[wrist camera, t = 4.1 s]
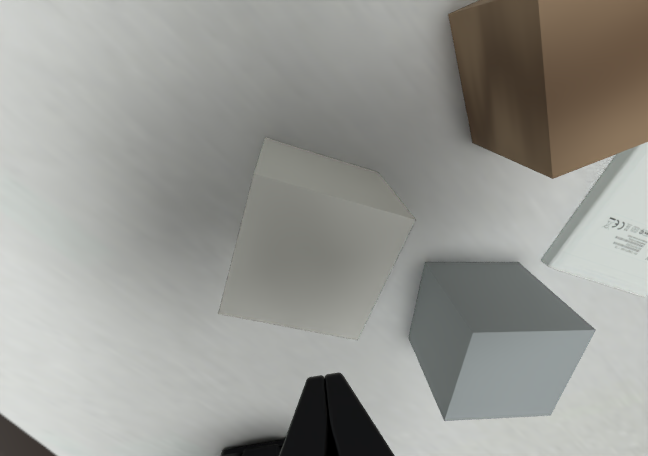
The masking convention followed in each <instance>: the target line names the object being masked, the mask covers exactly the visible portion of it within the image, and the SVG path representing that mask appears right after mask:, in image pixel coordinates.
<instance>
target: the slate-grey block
mask: <svg viewBox="0 0 648 456" xmlns="http://www.w3.org/2000/svg"><path fill="white" fill-rule="evenodd" d="M594 332H595V329H594V328H593V327H592V326H591V325H589V324H588V323H587V322H586V321H585V320H584V319H583V318H581V317H580V316H579V315H578V314H577V313H576V312H575V311H573V310H572V309H571V308H570V307H569V306H568V305H567V304H566V303H564V302H563V301H562V300H561V299H560V298H559V297H558V296H556V295H555V294H554V293H553V292H552V291H551V290H550V289H548V288H547V287H546V286H545V285H544V284H543V283H542V282H540V281H539V280H538V279H537V278H536V277H535V276H534V275H532V274H531V273H530V272H529V271H528V270H527V269H526V268H524V267H523V266H522V265H521V264H520V263H519V262H425V265H424V270H423V275H422V279H421V284H420V288H419V293H418V297H417V302H416V306H415V311H414V315H413V320H412V325H411V329H410V334H409V340H410V343H411V345H412V347H413V350H414V352H415V354H416V356H417V359H418V361H419V363H420V366H421V368H422V370H423V373H424V375H425V377H426V380H427V382H428V384H429V387H430V389H431V391H432V394H433V396H434V398H435V400H436V403H437V405H438V407H439V410H440V412H441V414H442V417H443V419H444V421H452V420H472V419H491V418H510V417H530V416H549V415H551V414H552V412H553V410H554V408H555V406H556V404H557V402H558V400H559V399H560V397H561V395H562V393H563V391H564V389H565V387H566V385H567V383H568V382H569V380H570V378H571V376H572V374H573V372H574V370H575V368H576V366H577V364H578V363H579V361H580V359H581V357H582V355H583V353H584V351H585V349H586V347H587V346H588V344H589V342H590V340H591V338H592V336H593V334H594Z"/></svg>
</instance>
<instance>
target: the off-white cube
mask: <svg viewBox="0 0 648 456" xmlns="http://www.w3.org/2000/svg"><path fill="white" fill-rule="evenodd" d="M415 221H416V219H415V218H414V217H413V215H412V214H411V213H410V212H409V210H408V209H407V208H406V207H405V205H404V204H403V203H402V202H401V200H400V199H399V198H398V197H397V195H396V194H395V193H394V191H393V190H392V189H391V188H390V186H389V185H388V184H387V183H386V181H385V180H384V179H383V178H382V176H381V175H380V174H379V173H378V172H376V171H372V170H369V169H366V168H363V167H359V166H356V165H353V164H350V163H347V162H343V161H340V160H337V159H334V158H330V157H327V156H324V155H321V154H317V153H314V152H311V151H308V150H305V149H301V148H298V147H295V146H292V145H288V144H285V143H282V142H279V141H275V140H272V139H269V138H266V137H265V139H264V143H263V146H262V149H261V152H260V155H259V158H258V161H257V165H256V168H255V171H254V174H253V178H252V182H251V186H250V190H249V194H248V198H247V202H246V206H245V210H244V214H243V217H242V221H241V225H240V229H239V233H238V237H237V241H236V245H235V249H234V253H233V257H232V261H231V265H230V269H229V273H228V277H227V281H226V285H225V289H224V293H223V297H222V301H221V305H220V308H219V312H218V314H222V315H227V316H232V317H237V318H243V319H248V320H253V321H259V322H264V323H269V324H274V325H280V326H285V327H290V328H295V329H301V330H306V331H311V332H316V333H322V334H327V335H332V336H338V337H343V338H348V339H353V340H358V339H359V337H360V335H361V333H362V331H363V329H364V327H365V324H366V322H367V320H368V318H369V316H370V314H371V312H372V310H373V308H374V306H375V304H376V302H377V300H378V297H379V295H380V293H381V291H382V289H383V287H384V285H385V283H386V281H387V279H388V277H389V275H390V273H391V271H392V268H393V266H394V264H395V262H396V260H397V258H398V256H399V254H400V252H401V250H402V248H403V246H404V244H405V242H406V239H407V237H408V235H409V233H410V231H411V229H412V227H413V225H414V223H415Z"/></svg>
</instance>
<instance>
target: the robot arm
mask: <svg viewBox="0 0 648 456" xmlns="http://www.w3.org/2000/svg"><path fill="white" fill-rule="evenodd" d="M221 456H394V454H393V453H392V451H391V449H390V448H389V446H388V445H387V443H386V442H385V440H384V439H383V437H382V435H381V434H380V432H379V431H378V429H377V428H376V426H375V424H374V423H373V421H372V420H371V418H370V417H369V415H368V414H367V412H366V410H365V409H364V407H363V406H362V404H361V403H360V401H359V400H358V398H357V396H356V395H355V393H354V392H353V390H352V389H351V387H350V386H349V384H348V382H347V381H346V379H345V378H344V376H343V375H342V374H341V373H333V374H327V375H326V376H325V378H324V376H322V375H320V376H314V377H309V378H308V379H307V380H306V383H305V386H304V388H303V391H302V394H301V397H300V399H299V402H298V405H297V408H296V410H295V413H294V416H293V419H292V421H291V424H290V427H289V430H288V433H287V435H286V438H285V440H281V441H274V442H268V443H262V444H256V445H250V446H244V447H237V448H231V449H226V450H223V451H222V454H221Z"/></svg>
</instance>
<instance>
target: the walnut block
mask: <svg viewBox="0 0 648 456" xmlns="http://www.w3.org/2000/svg"><path fill="white" fill-rule="evenodd" d="M448 16H449V21H450V26H451V32H452V37H453V42H454V48H455V53H456V58H457V63H458V69H459V74H460V79H461V85H462V90H463V95H464V100H465V106H466V111H467V116H468V122H469V127H470V132H471V137H472V143H474V144H476V145H479V146H481V147H483V148H485V149H488V150H490V151H492V152H494V153H496V154H499V155H501V156H503V157H505V158H508V159H510V160H512V161H514V162H517V163H519V164H521V165H523V166H525V167H528V168H530V169H532V170H534V171H537V172H539V173H541V174H543V175H546V176H548V177H550V178H552V179H553V178H556V177H558V176H561V175H564V174H566V173H569V172H571V171H574V170H577V169H579V168H582V167H584V166H587V165H589V164H592V163H595V162H597V161H600V160H602V159H605V158H607V157H610V156H613V155H615V154H618V153H620V152H623V151H625V150H628V149H631V148H633V147H636V146H638V145H641V144H643V143H646V142H648V0H479V1H477V2H475V3H472V4H470V5H468V6H466V7H463V8H461V9H459V10H457V11H454V12H452V13H450V14H448Z"/></svg>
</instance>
